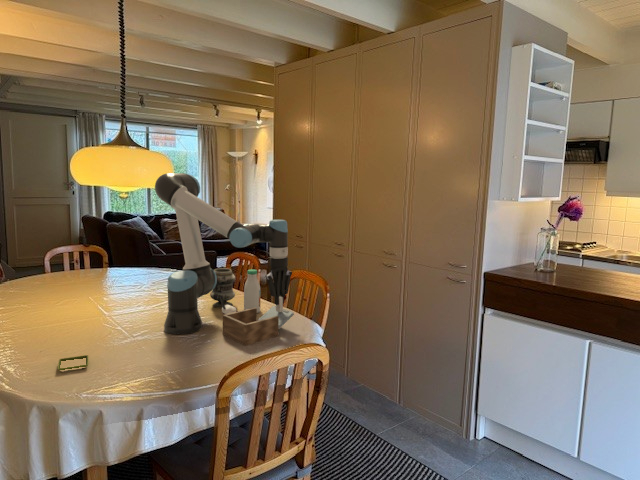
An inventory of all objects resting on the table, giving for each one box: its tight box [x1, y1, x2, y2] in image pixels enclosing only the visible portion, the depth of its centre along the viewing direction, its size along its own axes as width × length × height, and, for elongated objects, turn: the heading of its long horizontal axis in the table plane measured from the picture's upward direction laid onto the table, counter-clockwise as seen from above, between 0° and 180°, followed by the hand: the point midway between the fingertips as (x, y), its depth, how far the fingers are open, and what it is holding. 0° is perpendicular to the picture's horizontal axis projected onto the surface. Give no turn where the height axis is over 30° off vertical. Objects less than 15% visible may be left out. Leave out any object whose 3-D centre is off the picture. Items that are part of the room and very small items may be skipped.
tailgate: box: [257, 305, 295, 329], centre depth 186 cm, size 2×13×10 cm
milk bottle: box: [243, 268, 261, 314], centre depth 207 cm, size 8×8×20 cm
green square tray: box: [57, 354, 89, 371], centre depth 145 cm, size 9×9×2 cm
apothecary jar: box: [209, 267, 236, 309], centre depth 215 cm, size 12×12×18 cm
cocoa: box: [219, 295, 238, 315], centre depth 195 cm, size 10×6×12 cm, turn 114°
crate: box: [221, 308, 280, 346], centre depth 177 cm, size 16×16×8 cm
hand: (279, 311), depth 186 cm, fingers closed
